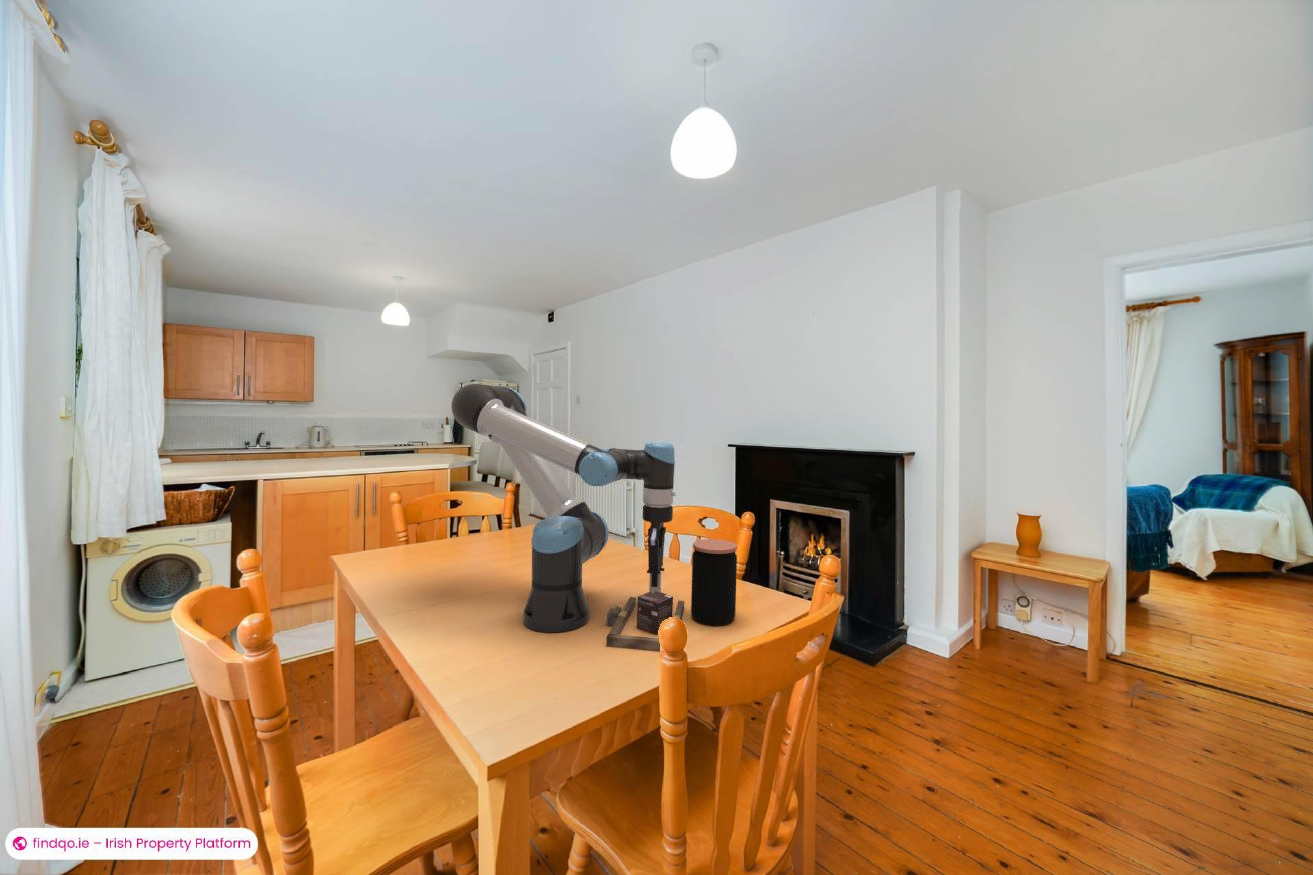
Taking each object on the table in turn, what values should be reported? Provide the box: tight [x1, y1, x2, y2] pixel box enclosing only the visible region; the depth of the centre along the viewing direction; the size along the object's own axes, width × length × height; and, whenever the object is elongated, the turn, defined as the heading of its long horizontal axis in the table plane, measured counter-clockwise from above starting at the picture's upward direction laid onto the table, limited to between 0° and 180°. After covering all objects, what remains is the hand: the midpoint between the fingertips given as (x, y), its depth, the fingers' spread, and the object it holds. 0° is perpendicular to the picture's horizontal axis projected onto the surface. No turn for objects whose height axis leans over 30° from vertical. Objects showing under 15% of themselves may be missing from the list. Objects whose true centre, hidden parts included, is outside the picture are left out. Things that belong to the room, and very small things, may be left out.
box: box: [636, 590, 674, 636], centre depth 114 cm, size 6×6×7 cm
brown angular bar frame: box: [606, 596, 685, 652], centre depth 115 cm, size 17×24×4 cm
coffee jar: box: [690, 538, 738, 627], centre depth 120 cm, size 11×11×18 cm
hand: (654, 597), depth 125 cm, fingers closed
